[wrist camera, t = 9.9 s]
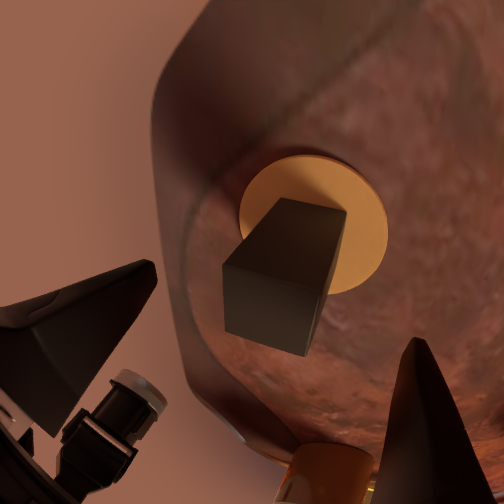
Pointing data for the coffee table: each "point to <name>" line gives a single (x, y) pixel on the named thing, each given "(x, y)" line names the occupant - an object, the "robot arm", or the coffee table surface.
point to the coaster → (329, 195)
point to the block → (283, 275)
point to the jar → (326, 475)
